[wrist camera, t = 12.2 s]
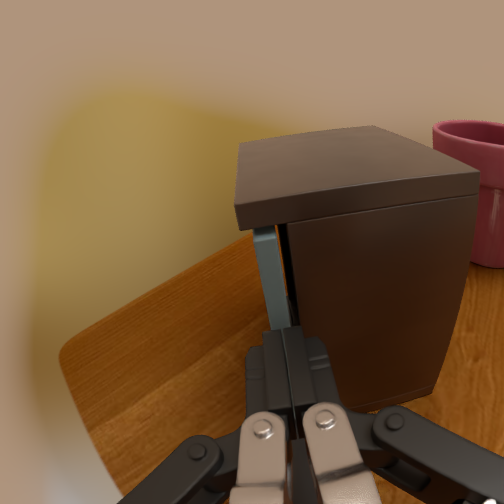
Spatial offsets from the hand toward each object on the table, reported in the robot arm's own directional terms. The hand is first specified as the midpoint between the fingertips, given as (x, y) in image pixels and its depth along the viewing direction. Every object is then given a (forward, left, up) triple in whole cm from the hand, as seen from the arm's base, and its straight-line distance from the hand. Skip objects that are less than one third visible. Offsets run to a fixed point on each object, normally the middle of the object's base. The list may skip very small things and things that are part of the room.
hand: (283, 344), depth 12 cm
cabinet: (+4, +2, -8) cm, 10 cm away
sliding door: (0, +7, -7) cm, 10 cm away
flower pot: (+24, +16, -9) cm, 30 cm away
